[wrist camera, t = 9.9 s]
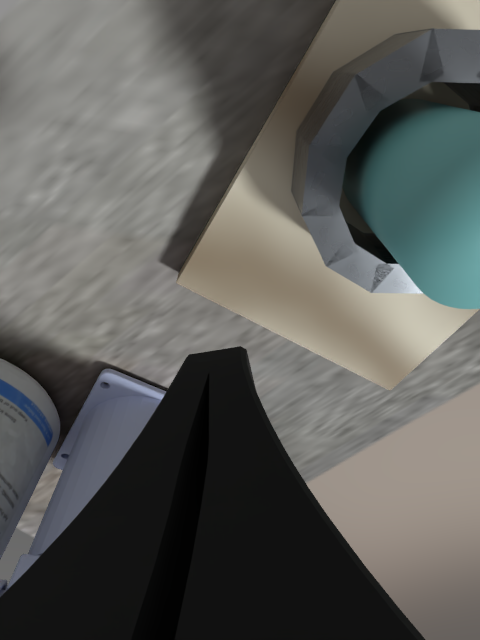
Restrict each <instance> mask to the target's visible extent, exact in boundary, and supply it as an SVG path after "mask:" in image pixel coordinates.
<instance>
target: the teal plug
mask: <svg viewBox="0 0 480 640" xmlns="http://www.w3.org/2000/svg"><path fill="white" fill-rule="evenodd" d="M342 187H343V190H344V193H345V195H346V197H347V199H348V200H349V202H350V203H351V204H352V206H353V207H354V208H355V210H356V211H357V212H358V213H359V215H360V216H361V217H362V218H363V220H364V221H365V222H366V223H367V225H368V226H369V227H370V228H371V230H372V231H373V232H374V233H375V235H376V236H377V237H378V238H379V240H380V241H381V242H382V243H383V245H384V246H385V247H386V248H387V250H388V251H389V252H390V253H391V255H392V256H393V257H394V258H395V260H396V261H397V262H398V263H399V265H400V266H401V267H402V268H403V270H404V271H405V272H406V274H407V275H408V276H409V277H410V279H411V280H412V281H413V282H414V284H415V285H416V286H417V287H418V288H419V289H420V290H421V291H422V292H423V293H424V294H425V295H426V296H427V297H429V298H430V299H432V300H434V301H435V302H437V303H439V304H442V305H445V306H448V307H453V308H458V309H480V112H476V111H472V110H467V109H462V108H458V107H453V106H449V105H444V104H440V103H435V102H431V101H426V100H422V99H403V100H399V101H397V102H395V103H393V104H392V105H390V106H388V107H386V108H384V109H383V110H381V111H380V112H379V113H378V115H377V116H376V117H375V119H374V120H373V122H372V123H371V124H370V126H369V127H368V129H367V130H366V131H365V133H364V134H363V136H362V137H361V139H360V140H359V141H358V143H357V144H356V146H355V147H354V148H353V150H352V151H351V153H350V154H349V155H348V157H347V160H346V166H345V172H344V179H343V185H342Z"/></svg>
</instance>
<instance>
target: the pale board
mask: <svg viewBox="0 0 480 640" xmlns="http://www.w3.org/2000/svg"><path fill="white" fill-rule="evenodd" d="M430 28H434V29H466V30H480V0H336V1H335V3H334V5H333V6H332V8H331V10H330V12H329V13H328V15H327V17H326V19H325V20H324V22H323V24H322V25H321V27H320V29H319V31H318V32H317V34H316V36H315V38H314V39H313V41H312V43H311V45H310V46H309V48H308V50H307V51H306V53H305V55H304V57H303V58H302V60H301V62H300V64H299V65H298V67H297V69H296V71H295V72H294V74H293V76H292V78H291V79H290V81H289V83H288V84H287V86H286V88H285V90H284V91H283V93H282V95H281V97H280V98H279V100H278V102H277V104H276V105H275V107H274V109H273V110H272V112H271V114H270V116H269V117H268V119H267V121H266V123H265V124H264V126H263V128H262V130H261V131H260V133H259V135H258V136H257V138H256V140H255V142H254V143H253V145H252V147H251V149H250V150H249V152H248V154H247V156H246V157H245V159H244V161H243V162H242V164H241V166H240V168H239V169H238V171H237V173H236V175H235V176H234V178H233V180H232V182H231V183H230V185H229V187H228V188H227V190H226V192H225V194H224V195H223V197H222V199H221V201H220V202H219V204H218V206H217V208H216V209H215V211H214V213H213V215H212V216H211V218H210V220H209V221H208V223H207V225H206V227H205V228H204V230H203V232H202V234H201V235H200V237H199V239H198V241H197V242H196V244H195V246H194V247H193V249H192V251H191V253H190V254H189V256H188V258H187V260H186V261H185V263H184V265H183V267H182V268H181V270H180V272H179V274H178V278H177V282H176V283H177V284H179V285H181V286H183V287H185V288H187V289H189V290H191V291H193V292H195V293H197V294H199V295H201V296H203V297H205V298H207V299H209V300H211V301H213V302H215V303H217V304H219V305H221V306H223V307H225V308H227V309H229V310H231V311H233V312H235V313H237V314H239V315H241V316H243V317H245V318H247V319H249V320H251V321H253V322H255V323H257V324H259V325H261V326H263V327H265V328H267V329H269V330H271V331H273V332H275V333H277V334H279V335H280V336H282V337H284V338H286V339H288V340H290V341H292V342H294V343H296V344H298V345H300V346H302V347H304V348H306V349H308V350H310V351H312V352H314V353H316V354H318V355H320V356H322V357H324V358H326V359H328V360H330V361H332V362H334V363H336V364H338V365H340V366H342V367H344V368H346V369H348V370H350V371H352V372H354V373H356V374H358V375H360V376H362V377H364V378H366V379H368V380H370V381H372V382H374V383H376V384H378V385H380V386H382V387H384V388H386V389H388V390H391V389H393V388H394V387H395V386H396V385H397V384H398V383H399V382H400V381H401V380H402V379H403V378H405V377H406V376H407V375H408V374H409V373H410V372H411V371H412V370H413V369H414V368H416V367H417V366H418V365H419V364H420V363H421V362H422V361H423V360H424V359H425V358H427V357H428V356H429V355H430V354H431V353H432V352H433V351H434V350H435V349H436V348H437V347H439V346H440V345H441V344H442V343H443V342H444V341H445V340H446V339H447V338H448V337H450V336H451V335H452V334H453V333H454V332H455V331H456V330H457V329H458V328H459V327H461V326H462V325H463V324H464V323H465V322H466V321H467V320H468V319H469V318H470V317H471V316H473V315H474V314H475V313H476V312H477V311H478V310H479V309H458V308H453V307H448V306H445V305H442V304H439V303H437V302H435V301H434V300H432V299H430V298H429V297H427V296H426V295H425V294H412V293H370V292H369V291H367V290H365V289H364V288H362V287H360V286H359V285H357V284H355V283H353V282H352V281H350V280H348V279H347V278H345V277H343V276H342V275H340V274H338V273H336V272H335V271H333V270H331V269H330V268H328V267H326V266H325V264H324V262H323V259H322V257H321V255H320V253H319V251H318V248H317V246H316V244H315V242H314V240H313V238H312V236H311V234H310V232H309V229H308V227H307V225H306V223H305V221H304V219H303V217H302V216H301V213H300V211H299V209H298V206H297V204H296V201H295V199H294V197H293V194H292V192H291V186H292V175H293V164H294V153H295V142H296V131H297V129H298V128H299V126H300V124H301V123H302V121H303V120H304V118H305V116H306V115H307V113H308V111H309V110H310V108H311V107H312V105H313V103H314V102H315V100H316V99H317V97H318V95H319V94H320V92H321V91H322V89H323V87H324V86H325V84H326V82H327V81H328V79H329V78H330V76H331V74H332V73H333V71H335V70H337V69H339V68H340V67H342V66H343V65H345V64H347V63H348V62H350V61H352V60H353V59H355V58H357V57H358V56H360V55H362V54H363V53H365V52H366V51H368V50H370V49H371V48H373V47H375V46H376V45H378V44H380V43H381V42H383V41H385V40H386V39H388V38H390V37H391V36H393V35H394V34H398V33H405V32H411V31H418V30H424V29H430ZM403 99H422V100H426V101H431V102H435V103H440V104H444V105H449V106H453V107H458V108H462V109H467V110H470V108H469V104H468V103H467V102H466V101H464V100H463V99H462V98H461V97H460V96H459V95H457V94H456V93H455V92H454V91H453V90H452V89H450V88H449V87H448V86H447V85H446V84H445V83H443V82H431V83H429V84H427V85H425V86H424V87H422V88H420V89H418V90H416V91H415V92H413V93H411V94H409V95H408V96H406V97H404V98H402V99H400V100H403ZM339 207H340V210H341V212H342V214H343V217H344V219H345V221H346V222H348V223H349V224H351V225H352V226H354V227H355V228H357V229H359V230H360V231H362V232H363V233H374V232H373V231H372V230H371V228H370V227H369V226H368V225H367V223H366V222H365V221H364V220H363V218H362V217H361V216H360V215H359V213H358V212H357V211H356V210H355V208H354V207H353V206H352V204H351V203H350V202H349V200H348V199H347V197H346V195H345V193H344V190H343V187H342V191H341V198H340V204H339Z"/></svg>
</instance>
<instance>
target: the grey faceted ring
mask: <svg viewBox="0 0 480 640" xmlns="http://www.w3.org/2000/svg"><path fill="white" fill-rule="evenodd" d="M431 82H443V83H445V84H446V85H447V86H448V87H449V88H450V89H452V90H453V91H454V92H455V93H456V94H457V95H459V96H460V97H461V98H462V99H463V100H464V101H466V102H467V103H468V104H469V108H470V110H472V111H476V112H480V30H466V29H434V28H430V29H424V30H418V31H411V32H405V33H398V34H394V35H393V36H391V37H390V38H388V39H386V40H385V41H383V42H381V43H380V44H378V45H376V46H375V47H373V48H371V49H370V50H368V51H366V52H365V53H363V54H362V55H360V56H358V57H357V58H355V59H353V60H352V61H350V62H348V63H347V64H345V65H343V66H342V67H340V68H339V69H337V70H335V71H333V73H332V74H331V76H330V78H329V79H328V81H327V82H326V84H325V86H324V87H323V89H322V91H321V92H320V94H319V95H318V97H317V99H316V100H315V102H314V103H313V105H312V107H311V108H310V110H309V111H308V113H307V115H306V116H305V118H304V120H303V121H302V123H301V124H300V126H299V128H298V129H297V131H296V142H295V153H294V164H293V175H292V186H291V192H292V194H293V197H294V199H295V201H296V204H297V206H298V209H299V211H300V213H301V216H302V217H303V219H304V221H305V223H306V225H307V227H308V229H309V232H310V234H311V236H312V238H313V240H314V242H315V244H316V246H317V248H318V251H319V253H320V255H321V257H322V259H323V262H324V264H325V266H326V267H328V268H330V269H331V270H333V271H335V272H336V273H338V274H340V275H342V276H343V277H345V278H347V279H348V280H350V281H352V282H353V283H355V284H357V285H359V286H360V287H362V288H364V289H365V290H367V291H369V292H370V293H412V294H424V293H423V292H422V291H421V290H420V289H419V288H418V287H417V286H416V285H415V284H414V282H413V281H412V280H411V279H410V277H409V276H408V275H407V274H406V272H405V271H404V270H403V268H402V267H401V266H400V265H399V263H398V262H397V261H396V260H395V258H394V257H393V256H392V255H391V253H390V252H389V251H388V250H387V248H386V247H385V246H384V245H383V243H382V242H381V241H380V240H379V238H378V237H377V236H376V235H375V233H363V232H362V231H360V230H359V229H357V228H355V227H354V226H352V225H351V224H349V223H348V222H346V221H345V219H344V217H343V214H342V212H341V210H340V207H339V204H340V198H341V191H342V185H343V179H344V172H345V166H346V160H347V157H348V155H349V154H350V153H351V151H352V150H353V148H354V147H355V146H356V144H357V143H358V141H359V140H360V139H361V137H362V136H363V134H364V133H365V131H366V130H367V129H368V127H369V126H370V124H371V123H372V122H373V120H374V119H375V117H376V116H377V115H378V113H379V112H380V111H381V110H383V109H384V108H386V107H388V106H390V105H392V104H393V103H395V102H397V101H399V100H400V99H402V98H404V97H406V96H408V95H409V94H411V93H413V92H415V91H416V90H418V89H420V88H422V87H424V86H425V85H427V84H429V83H431Z"/></svg>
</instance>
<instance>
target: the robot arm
mask: <svg viewBox="0 0 480 640" xmlns="http://www.w3.org/2000/svg"><path fill="white" fill-rule="evenodd" d="M103 382H106V383H108V384H104V383H103ZM53 465H54V466H55V467H56V468H58V469H61V470H63V471H62V474H61V476H60V478H59V481H58V483H57V486H56V488H55V490H54V493H53V495H52V498H51V500H50V502H49V505H48V507H47V510H46V512H45V514H44V517H43V519H42V521H41V524H40V526H39V529H38V531H37V533H36V536H35V538H34V541H33V543H32V545H31V548H30V550H29V553H28V554H23V555H21V556H20V559H19V561H18V563H17V566H16V568H15V570H14V573H13V575H12V577H11V580H10V582H9V584H8V586H7V580H2V579H0V640H425V639H424V637H423V636H422V635H421V634H420V633H419V632H418V630H417V629H416V628H415V627H414V626H413V624H412V623H411V622H410V621H409V620H408V618H406V616H405V615H404V614H403V613H402V611H401V610H400V609H399V608H398V607H397V605H396V604H395V603H394V602H393V600H392V599H391V598H390V597H389V595H388V594H387V593H386V592H385V590H384V589H383V588H382V587H381V585H380V584H379V583H378V582H377V581H376V579H375V578H374V577H373V575H372V574H371V573H370V572H369V571H368V569H367V568H366V567H365V566H364V564H363V563H362V561H361V560H360V559H359V557H358V556H357V555H356V553H355V552H354V551H353V549H352V548H351V547H350V545H349V544H348V543H347V541H346V540H345V539H344V537H343V536H342V534H341V533H340V532H339V531H338V529H337V528H336V526H335V525H334V524H333V522H332V521H331V520H330V518H329V517H328V516H327V514H326V513H325V512H324V510H323V509H322V507H321V506H320V504H319V503H318V501H317V500H316V498H315V497H314V495H313V494H312V492H311V491H310V489H309V488H308V487H307V485H306V483H305V482H304V480H303V478H302V477H301V475H300V474H299V472H298V471H297V469H296V467H295V466H294V464H293V462H292V461H291V459H290V457H289V456H288V454H287V452H286V451H285V449H284V447H283V445H282V443H281V442H280V440H279V438H278V436H277V434H276V432H275V431H274V429H273V427H272V425H271V423H270V421H269V419H268V417H267V415H266V412H265V410H264V408H263V406H262V404H261V401H260V399H259V397H258V395H257V392H256V389H255V385H254V380H253V376H252V372H251V367H250V363H249V359H248V354H247V350H246V349H244V348H242V347H234V348H228V349H222V350H216V351H209V352H203V353H197V354H190V355H188V357H187V358H186V359H185V361H184V363H183V364H182V366H181V368H180V370H179V371H178V373H177V375H176V377H175V378H174V380H173V382H172V383H171V385H170V387H169V389H168V390H167V392H166V391H164V390H161V389H159V388H157V387H154V386H152V385H149V384H147V383H144V382H142V381H140V380H137V379H135V378H132V377H130V376H127V375H125V374H123V373H120V372H118V371H115V370H113V369H104V370H103V371H102V372H101V373H100V375H99V377H98V379H97V381H96V382H95V384H94V386H93V388H92V390H91V392H90V393H89V395H88V397H87V399H86V401H85V403H84V405H83V406H82V408H81V410H80V412H79V414H78V416H77V418H76V419H75V421H74V423H73V425H72V427H71V429H70V431H69V432H68V434H67V436H66V438H65V440H64V442H63V444H62V445H61V447H60V449H59V451H58V453H57V455H56V456H55V458H54V461H53ZM6 588H7V589H6Z"/></svg>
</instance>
